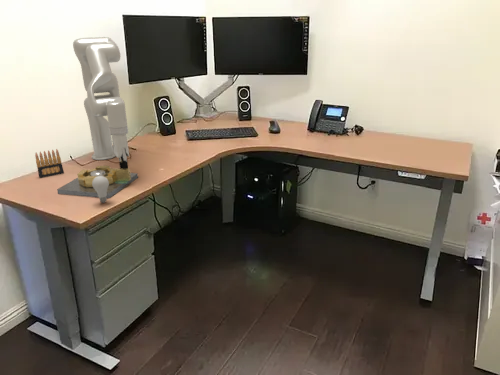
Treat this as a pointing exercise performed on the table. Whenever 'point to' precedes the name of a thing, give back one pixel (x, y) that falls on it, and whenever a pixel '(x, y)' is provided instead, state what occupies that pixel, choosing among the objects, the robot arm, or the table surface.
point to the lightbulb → (101, 187)
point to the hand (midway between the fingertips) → (124, 170)
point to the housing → (80, 190)
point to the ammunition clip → (49, 164)
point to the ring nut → (111, 174)
